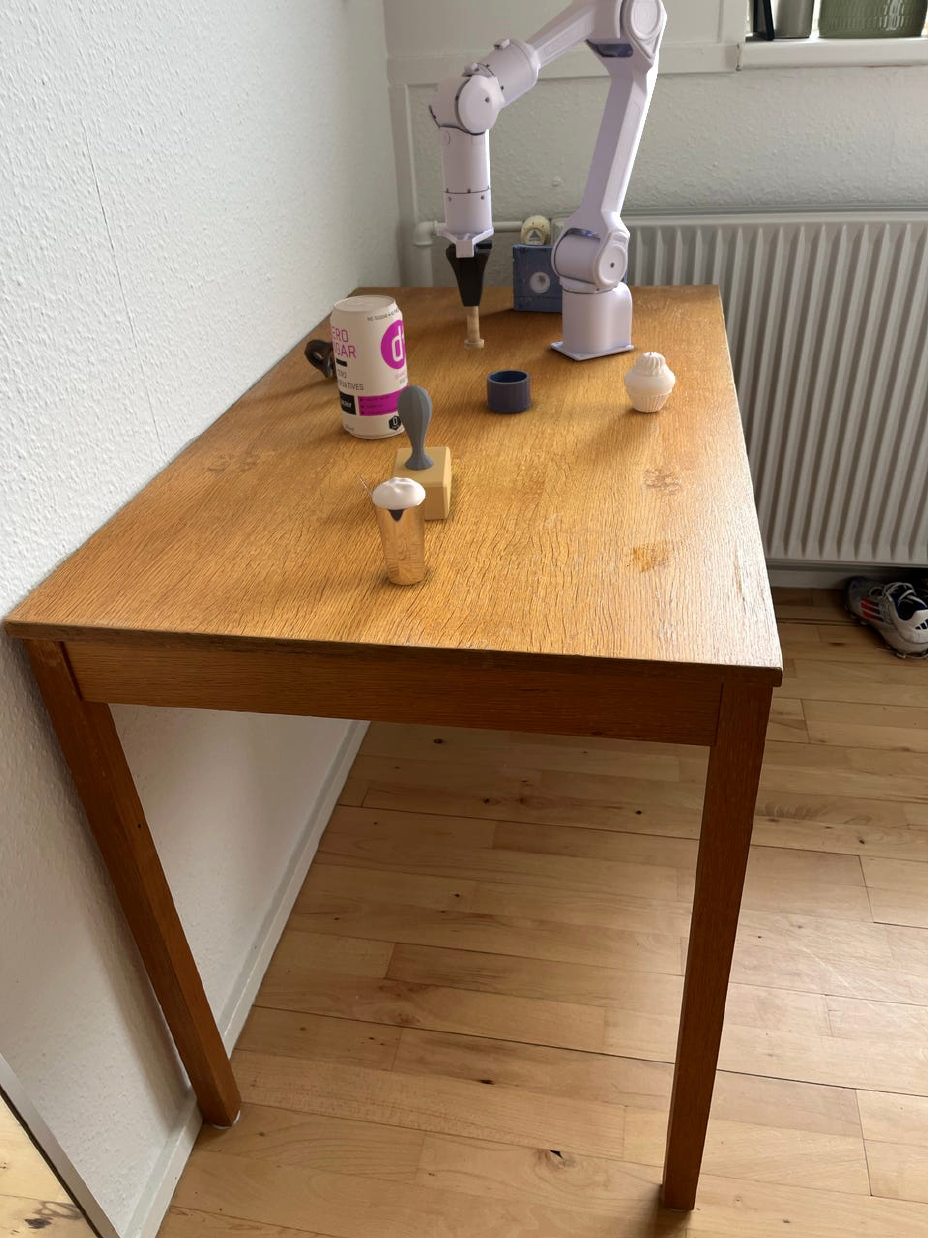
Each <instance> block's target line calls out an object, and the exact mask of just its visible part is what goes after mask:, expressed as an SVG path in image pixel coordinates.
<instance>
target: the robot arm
mask: <svg viewBox="0 0 928 1238" xmlns="http://www.w3.org/2000/svg"><path fill="white" fill-rule="evenodd" d="M667 19H668V14H667V12H666V9H665V7H664V3H663V1H662V0H572V2H571V3H570V4H569V5H568V6H567V7H565V8H564V9H563V10H561V11H560V12H558V14H557V15H556V16H555V17H553V18H552V19H550V20H549V21H548V22H547V23H546V24H544V25H543V26H542V27H541V28H539V29H538V30H537V31H535V33H533V34H532V35H530V37H528V38H527V39H526V40H525V41H522V40H520V39H517V38H499V39H498V40H496V41H495V42H493V48H494V49H493V50H492V51H491V52H489V53H487V54H486V55H484V57H482V58H481V59H478V60H477V61H469V62H468V63H467V64H466V63H465V65H464V66H463V68H464V71H463V72H462V73H461V75H460V76H457V75H456V76H455V75H454V76H453V75H451V76H447V77H445V78H443V79H441V80H440V81H439V82H438V84H437V85H436V86H435V89H434V91H433V93H432V97H431V103H430V104H428V105H427V109H428V115H429V117H430V120H431V122H432V124H433V125H434V126H435V128H436V130H437V133H438V134H437V135H438V143H440V153H441V170H442V171H441V172H442V184H443V185H442V187H443V203H444V205H443V207H444V218H445V219H444V222H445V227H437V229H436V237H445V238H446V239H447V240H449V242H451V243H450V244H449V245H448V247H447V248H446V250H445V256H446V259H447V261H448V262H449V264H450V267H451V268H452V271H453V274H454V276H455V280H456V283H457V287H458V292H459V296H460V299H461V302H462V306H463V307H464V308H467V307H472V306H478V307H480V305H481V302H482V297H483V292H484V283H485V273H486V268H487V264H488V261H489V258H490V255H491V253H492V249H493V246H494V240H492V239H488V238H489V237H491V236H493V235H494V232H495V231H494V226H493V221H492V197H491V196H492V194H491V190H492V189H491V163H490V135H489V134H490V133H489V131H490V130H491V129H492V128H493V126H494V125H495V123H496V121H497V119H498V115H499V112H500V111H502V110H504V109H505V108H506V107H507V106H509V105H511V104H512V103H513V102H515V101H516V100H517V99H519V98H520V97H521V96H523V95H524V94H526V93H527V92H529V90H531V89H532V88H533V87H535V85H536V84H537V82H538V78H539V70H541V69H542V68H543V67H545V66H547V65H548V64H550V63H552V62H553V61H555V60H556V59H558V58H559V57H561V56H563V55H564V54H565V53H567V52H569V51H570V50H572V49H573V48H575V47H577V46H578V45H580V44H582V43H583V42H584V44H585V45H586V46H587V47H588V48H589V50H590V51H591V53H592V54H593V55H594V56H595V57H596V58H597V60H598V61H599V62H600V63H601V64H602V66H603V67H605V68H606V70H607V73H608V75H609V77H610V81H611V82H610V85H609V89H608V93H607V98H606V101H605V105H604V109H603V114H602V117H601V122H600V126H599V130H598V134H597V138H596V141H595V146H594V149H593V154H592V157H591V162H590V166H589V170H588V174H587V177H586V182H585V185H584V190H583V194H582V198H581V202H580V207H579V208H577V210H576V211H574V212H573V213H572V214H571V215H569V217H567V218H566V219H565V220H564V223H563V226H562V230H561V233H560V235H559V236H558V238H557V239H556V240H555V243H554V244H553V245H554V247H553V249H552V254H551V264H552V268H553V270H554V272H555V273H556V274H557V275H558V276H559V277H560V285H562V286H563V299H562V312H561V314H562V315H561V316H562V318H561V319H562V322H561V324H562V325H561V326H562V329H561V334H562V335H561V341H558V342H552V343H550V348H552V349H553V350H556V351H557V352H560V354H561V353H562V354H564V355H565V356H567V357H570V358H571V359H573V360H575V361H583V360H588V359H593V358H598V357H603V356H608V355H612V354H617V353H622V352H623V353H624V352H627V351H632V350H634V347H635V346H634V345H633V344H632V326H633V325H632V323H633V298H632V294H631V291H630V289H629V287H628V286H626V285H625V284H624V283H622V282H620V281H621V280H622V278H623V276H624V274H625V272H626V268H627V269H628V259H629V258H628V257H627V247H629V246H628V245H629V243H630V242H629V241H630V237H631V234H630V232H629V230H628V228H627V227H626V226H625V225H624V222H623V221H622V219H621V217H620V216H621V212H622V210H623V209H622V208H623V204H624V202H625V197H626V194H627V189H628V186H629V182H630V178H631V175H632V170H633V167H634V163H635V160H636V156H637V153H638V148H639V144H640V140H641V137H642V133H643V129H644V125H645V121H646V117H647V114H648V110H649V106H650V102H651V99H652V94H653V91H654V87H655V83H656V79H657V75H658V68H659V49H660V47H661V46H660V45H661V41H662V39H663V34H664V30H665V27H666V22H667ZM592 235H599V237H597V236H596V237H595V236H592Z"/></svg>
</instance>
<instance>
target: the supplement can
mask: <svg viewBox="0 0 928 1238" xmlns="http://www.w3.org/2000/svg"><path fill="white" fill-rule="evenodd" d="M329 324H330V331H331V340H332V342H333V348H334V356H335V364H336V372H337V376H336V379H337V387H338V394H339V395H338V396H339V402H340V410H341V420H342V425H343V428H344V430H346V431H347V432H349V434H350V435H351V436H353V437H356V438H359V439H364V440H378V439H386V438H390V437H395V436H397V435H399V434H401V433H403V432H404V431H405V429H404V427H403V425H402V423H401V420H400V418H399V415H398V411H397V399H398V396H399V394H400V393H401V391H402V390H403V389H404V388H405V387H408V386H409V379H408V366H407V356H406V344H405V343H406V342H405V333H404V322H403V313H402V311H401V310H400V308H399V306H398V305H397V303H396V300H395V298H394V297H391V296H388V295H381V294H364V295H363V294H362V295H356V296H355V295H354V296H350V297H344V298H341V299H340V300H338V301H335V302H334V304H333V310H332V312H331V315H330V318H329Z"/></svg>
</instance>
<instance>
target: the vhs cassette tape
mask: <svg viewBox="0 0 928 1238" xmlns="http://www.w3.org/2000/svg"><path fill="white" fill-rule="evenodd" d="M553 247H554V244H531V243H529V244H527V243H516V244H515V245H513V246H512V259H513V262H512V287H513V288H512V294H513V302H512V303H513V310H514V311H518V312H519V311H522V312H526V311H527V312H543V313H545V312H546V313H562V299H563V286H562V285H560V277H559V276H558V275H557V274H556V273H555V272H554V270H553V268H552V264H551V254H552V249H553ZM628 253H629V246H627V257H628ZM620 282H622V283H624V284H625V285H626V286H627V285H628V267H627V268H626V272H625V274H624V276H623V278H622V280H621V281H620ZM627 287H628V286H627Z"/></svg>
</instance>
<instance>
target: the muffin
mask: <svg viewBox="0 0 928 1238" xmlns="http://www.w3.org/2000/svg"><path fill="white" fill-rule="evenodd" d="M675 383H676V378H675V374H674V372H672V371H671V370H670V369H669V367H668V365H667V364H666V358H665V357H664V356H663V355H662V354H661V353H658V352H655V351H654V352H652V351H650V352H644V353H640V354H639V355H638V356H637V357H636V358H635V363H634V364H633V366H632V367H631V369H629V370H628V371H627V372H625V374H624V377H623V384H624V387H625V392H626V394H627V396H628V398H629V400H630V402H631V405H632V406H633V408H634V410H636V411H638V412H640V413H647V414H648V413H655V412H658V411H661V409H662V408H663V407H664V404H665V403H666V401H667V400H668V399H669V397H670V395H671V393H673V392H672V390H673V388H674V386H675Z"/></svg>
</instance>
